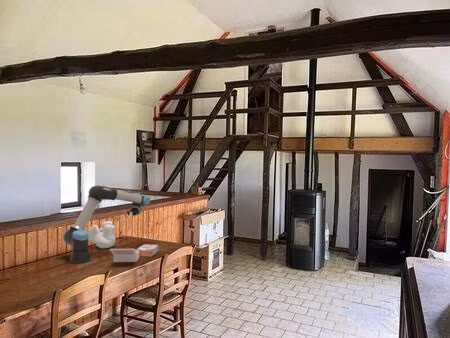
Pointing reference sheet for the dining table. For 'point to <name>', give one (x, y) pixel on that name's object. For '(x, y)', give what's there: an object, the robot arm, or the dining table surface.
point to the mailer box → (127, 257)
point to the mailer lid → (123, 251)
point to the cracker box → (148, 250)
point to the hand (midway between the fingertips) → (130, 214)
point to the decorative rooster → (102, 235)
